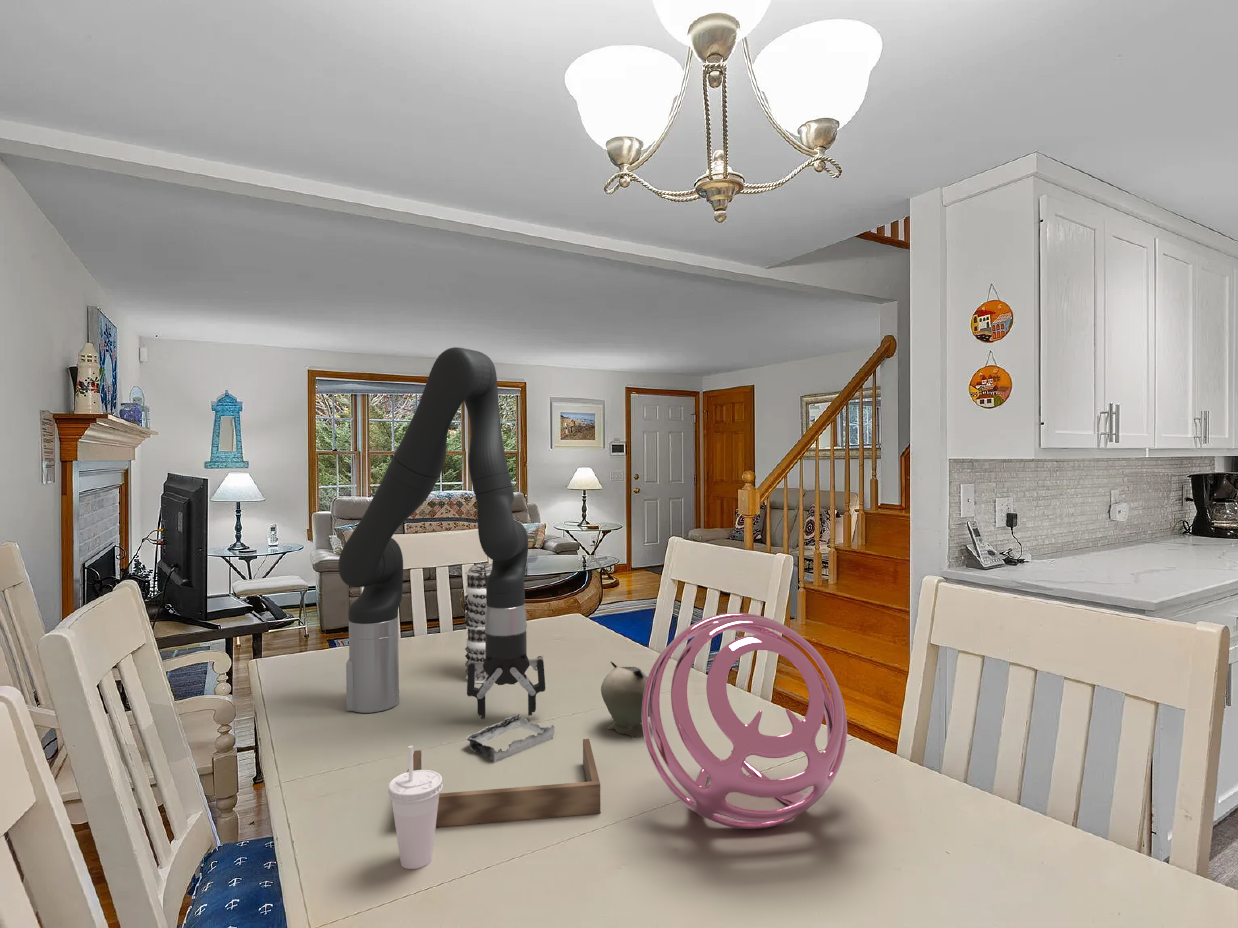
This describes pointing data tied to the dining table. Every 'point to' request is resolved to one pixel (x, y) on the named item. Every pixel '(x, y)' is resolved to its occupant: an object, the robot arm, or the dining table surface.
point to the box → (520, 799)
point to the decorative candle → (476, 616)
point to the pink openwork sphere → (745, 726)
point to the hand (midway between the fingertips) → (506, 715)
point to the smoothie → (415, 813)
